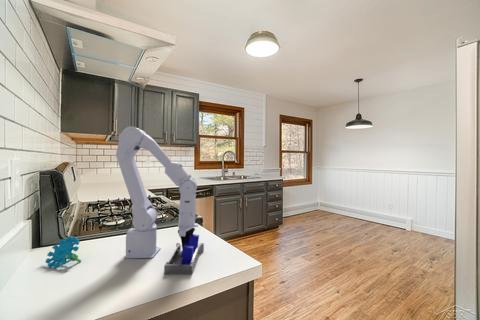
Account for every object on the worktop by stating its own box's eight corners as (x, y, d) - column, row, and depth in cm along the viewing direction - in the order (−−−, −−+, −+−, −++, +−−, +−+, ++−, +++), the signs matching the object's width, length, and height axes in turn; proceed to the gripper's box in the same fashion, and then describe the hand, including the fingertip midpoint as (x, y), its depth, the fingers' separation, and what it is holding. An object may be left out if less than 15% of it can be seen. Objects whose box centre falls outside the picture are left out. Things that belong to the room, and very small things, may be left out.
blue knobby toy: (37, 259, 70) (65, 231, 76) (52, 266, 74) (77, 239, 80) (56, 273, 65) (84, 241, 71) (71, 279, 69) (97, 249, 75)
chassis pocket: (160, 274, 65) (160, 264, 65) (176, 249, 82) (176, 241, 82) (195, 274, 65) (195, 264, 65) (203, 249, 83) (203, 242, 83)
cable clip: (184, 249, 81) (186, 233, 81) (197, 251, 81) (199, 234, 81) (175, 265, 69) (178, 246, 69) (190, 267, 69) (192, 248, 69)
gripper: (194, 218, 74) (192, 258, 74) (201, 207, 88) (199, 241, 89) (173, 217, 74) (171, 257, 74) (183, 206, 88) (181, 241, 88)
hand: (185, 249), depth 81 cm, fingers closed, pressing on cable clip
